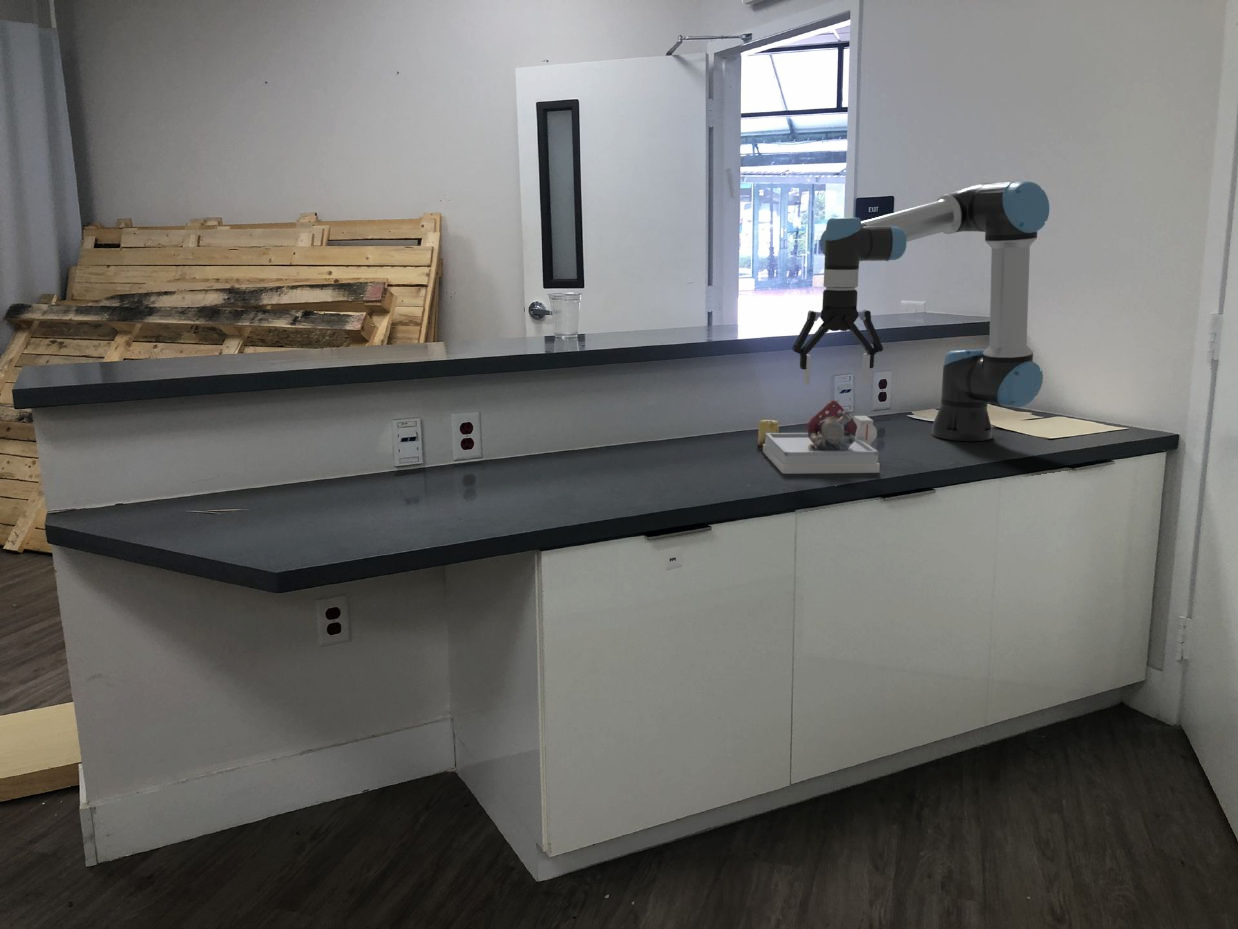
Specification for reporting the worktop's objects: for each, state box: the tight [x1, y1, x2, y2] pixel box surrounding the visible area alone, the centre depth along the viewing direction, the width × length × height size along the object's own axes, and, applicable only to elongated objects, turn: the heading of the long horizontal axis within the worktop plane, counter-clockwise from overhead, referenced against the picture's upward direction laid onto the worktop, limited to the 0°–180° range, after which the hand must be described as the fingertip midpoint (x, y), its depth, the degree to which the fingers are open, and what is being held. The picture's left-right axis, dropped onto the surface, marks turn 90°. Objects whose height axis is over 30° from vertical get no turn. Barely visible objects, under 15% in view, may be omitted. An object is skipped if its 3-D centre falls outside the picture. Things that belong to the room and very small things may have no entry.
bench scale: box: [762, 415, 881, 475], centre depth 227 cm, size 26×22×9 cm
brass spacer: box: [757, 419, 780, 448], centre depth 245 cm, size 5×5×6 cm
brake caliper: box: [806, 399, 857, 451], centre depth 222 cm, size 11×11×12 cm
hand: (835, 383), depth 221 cm, fingers open, 13 cm apart
